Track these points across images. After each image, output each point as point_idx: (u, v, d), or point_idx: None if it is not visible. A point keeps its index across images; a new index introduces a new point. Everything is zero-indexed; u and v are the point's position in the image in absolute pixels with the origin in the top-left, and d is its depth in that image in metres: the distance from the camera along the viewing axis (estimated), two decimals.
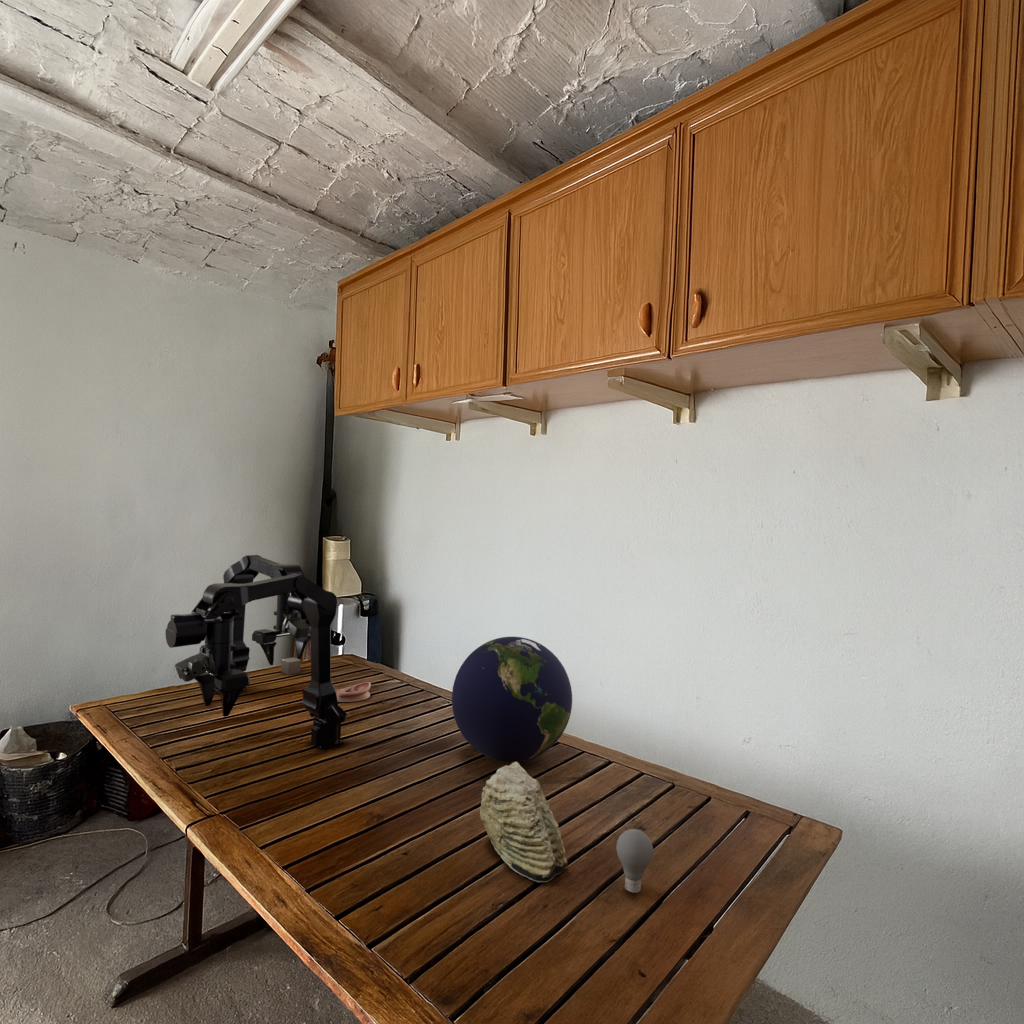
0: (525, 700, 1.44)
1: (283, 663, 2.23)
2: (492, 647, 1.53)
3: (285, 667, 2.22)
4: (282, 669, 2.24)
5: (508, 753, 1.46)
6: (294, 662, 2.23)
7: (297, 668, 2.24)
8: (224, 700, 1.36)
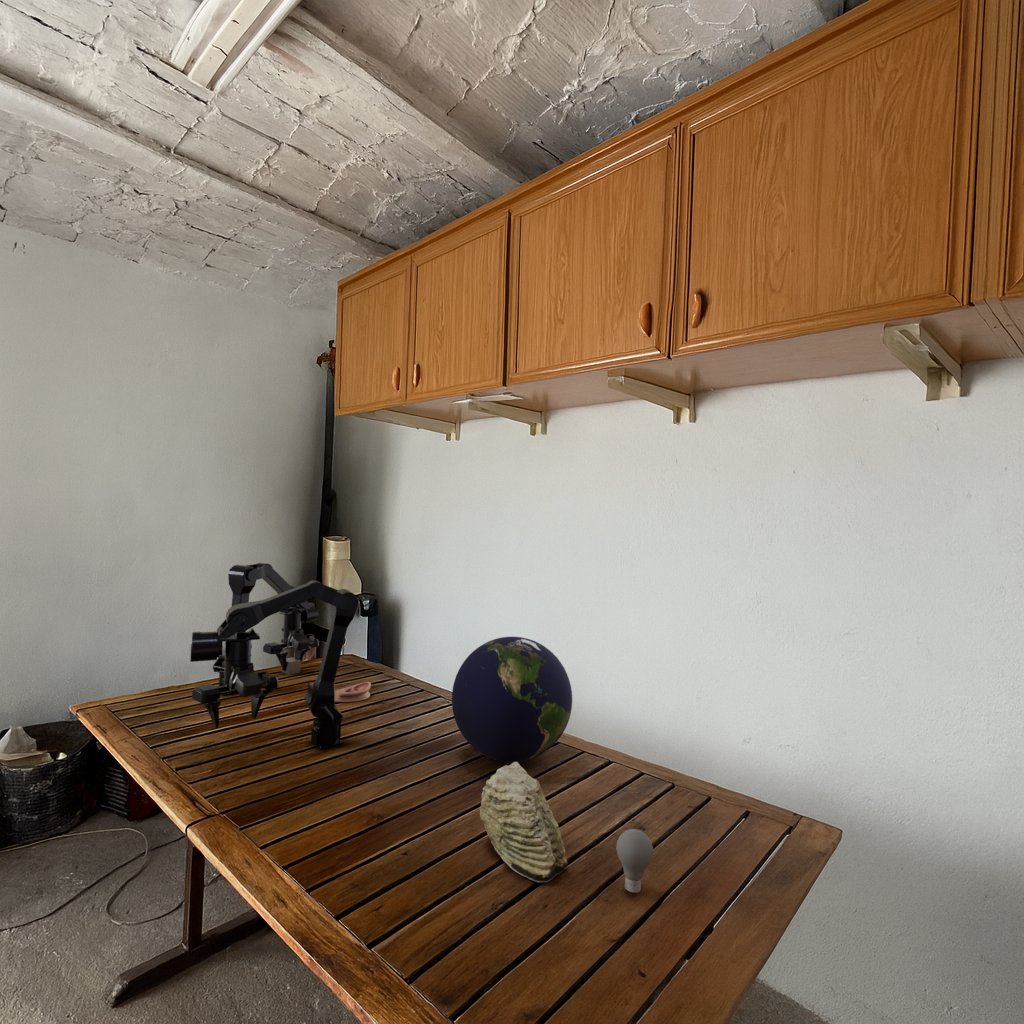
0: (525, 700, 1.44)
1: None
2: (492, 647, 1.53)
3: None
4: (282, 669, 2.24)
5: (508, 753, 1.46)
6: (294, 662, 2.23)
7: (297, 668, 2.24)
8: None
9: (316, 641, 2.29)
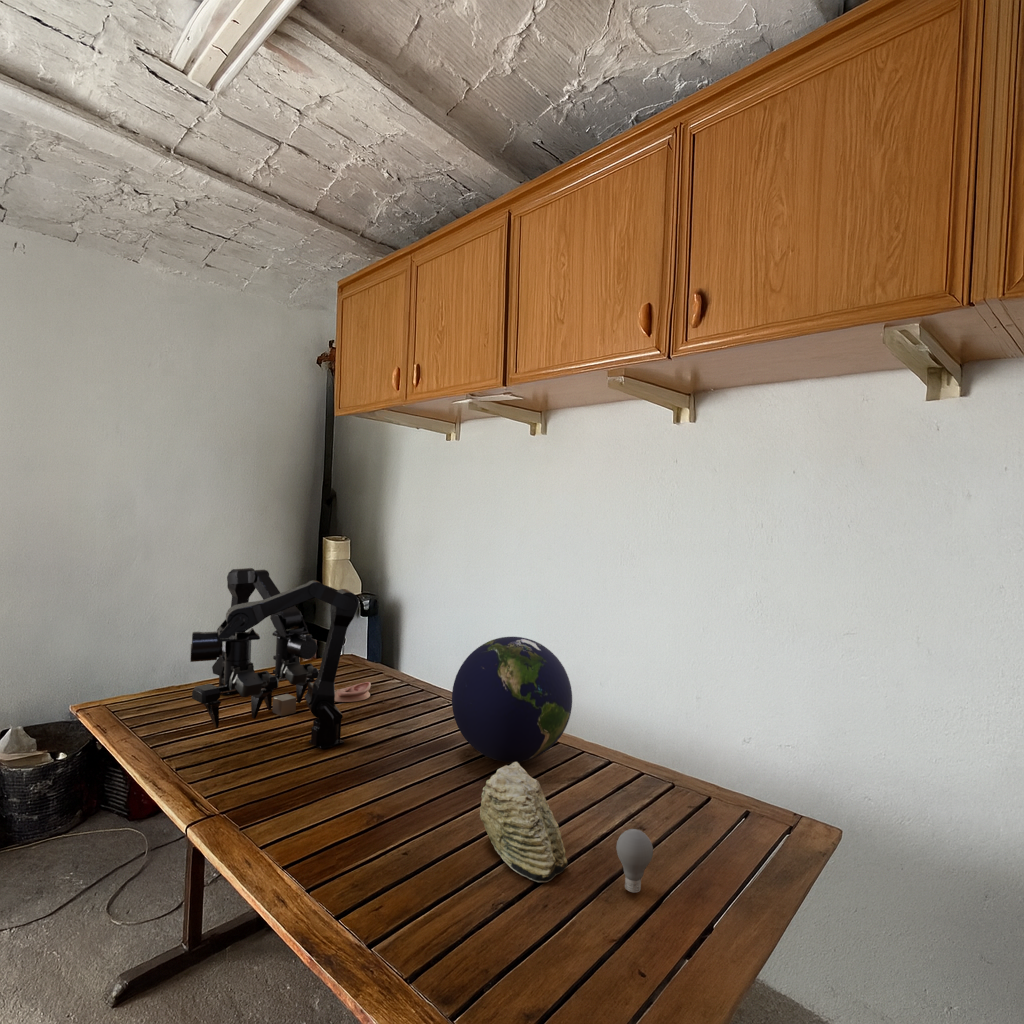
0: (525, 700, 1.44)
1: (274, 702, 1.82)
2: (492, 647, 1.53)
3: (277, 707, 1.81)
4: (274, 709, 1.83)
5: (508, 753, 1.46)
6: (288, 700, 1.82)
7: (292, 707, 1.83)
8: None
9: (315, 671, 1.88)
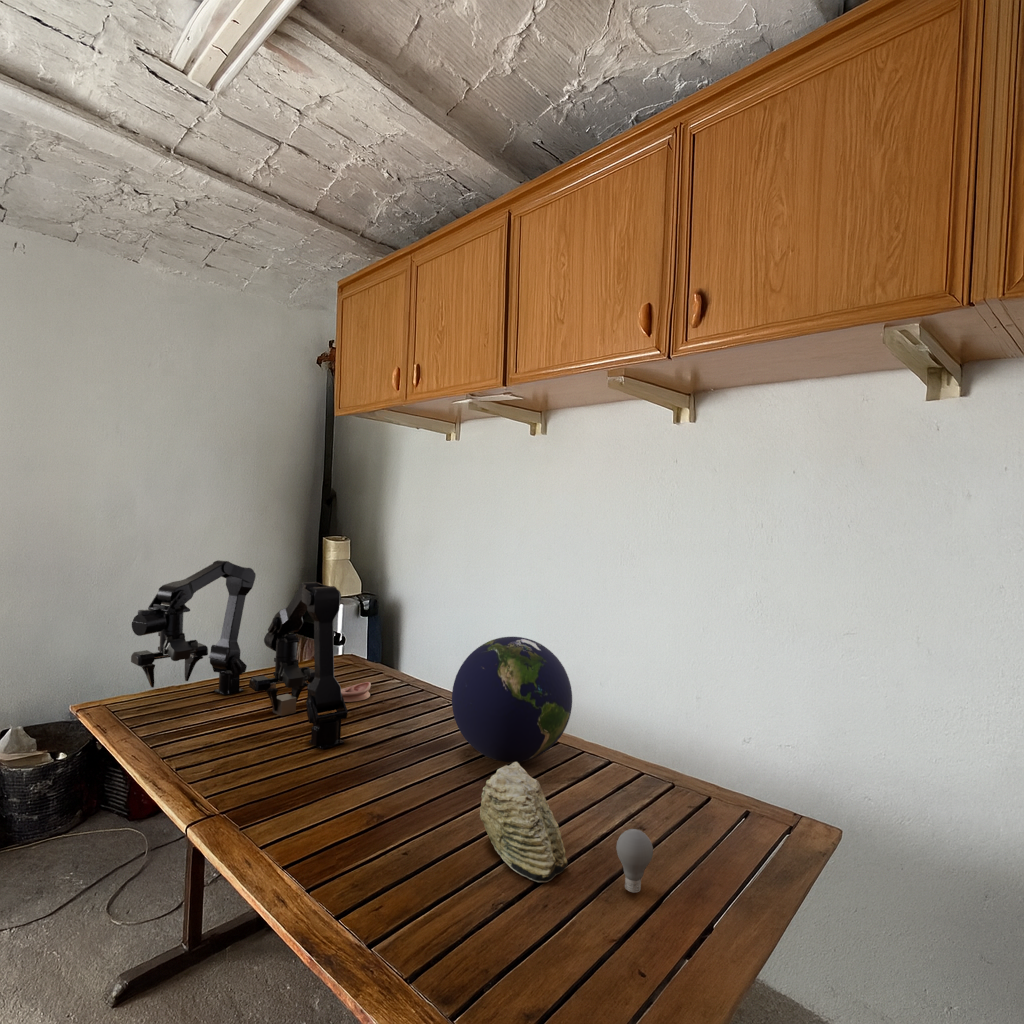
0: (525, 700, 1.44)
1: None
2: (492, 647, 1.53)
3: (277, 707, 1.81)
4: None
5: (508, 753, 1.46)
6: (288, 700, 1.82)
7: (292, 707, 1.83)
8: None
9: (204, 648, 1.84)
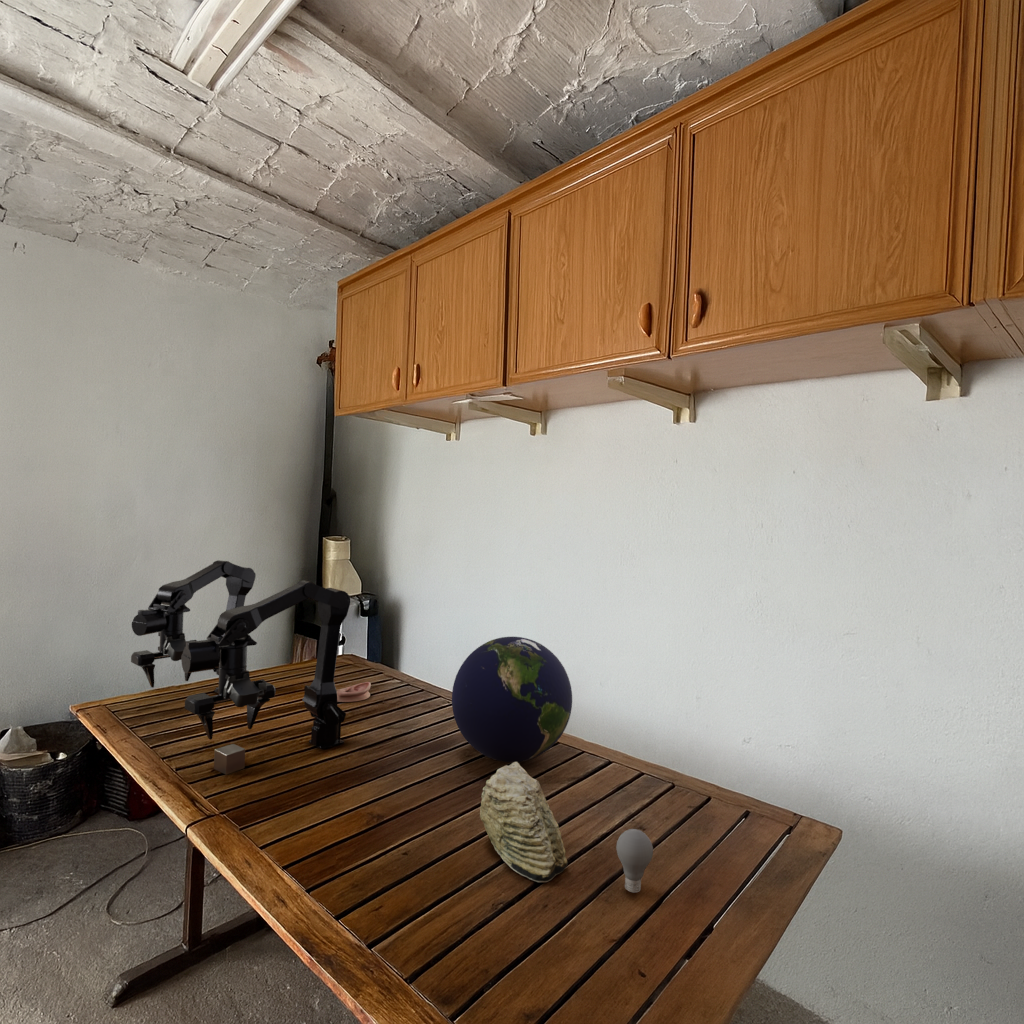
0: (525, 700, 1.44)
1: (217, 756, 1.44)
2: (492, 647, 1.53)
3: (221, 763, 1.43)
4: (216, 765, 1.44)
5: (508, 753, 1.46)
6: (235, 754, 1.44)
7: (239, 762, 1.45)
8: None
9: None
